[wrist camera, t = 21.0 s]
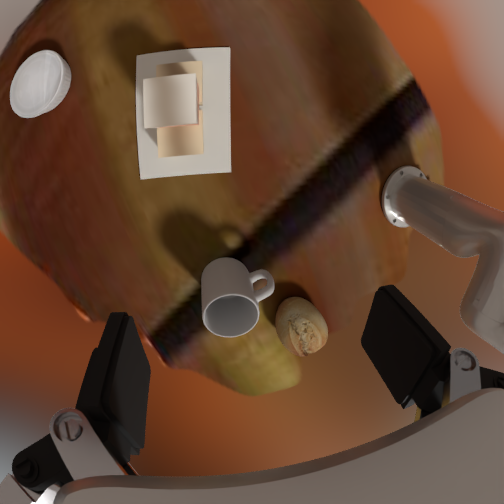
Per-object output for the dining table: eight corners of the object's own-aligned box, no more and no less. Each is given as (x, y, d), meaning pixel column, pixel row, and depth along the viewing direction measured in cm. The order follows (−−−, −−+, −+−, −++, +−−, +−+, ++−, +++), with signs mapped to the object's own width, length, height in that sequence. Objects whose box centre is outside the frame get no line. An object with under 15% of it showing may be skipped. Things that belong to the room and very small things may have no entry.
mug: (214, 304, 51) (218, 345, 41) (192, 269, 47) (190, 307, 37) (273, 278, 50) (289, 315, 40) (255, 240, 46) (270, 273, 36)
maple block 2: (202, 112, 35) (202, 109, 31) (203, 150, 38) (203, 154, 33) (162, 115, 34) (156, 113, 30) (164, 154, 37) (158, 157, 33)
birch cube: (197, 81, 25) (195, 73, 21) (197, 123, 27) (196, 122, 23) (152, 86, 24) (143, 79, 20) (154, 128, 26) (144, 128, 22)
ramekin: (88, 83, 30) (74, 78, 25) (42, 130, 31) (25, 133, 26) (61, 43, 24) (46, 36, 20) (18, 89, 26) (1, 89, 21)
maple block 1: (202, 68, 32) (202, 60, 28) (202, 105, 35) (202, 102, 30) (162, 72, 31) (156, 64, 27) (162, 109, 34) (156, 106, 30)
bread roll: (292, 347, 60) (302, 373, 53) (260, 309, 53) (269, 336, 46) (328, 326, 59) (342, 350, 52) (302, 283, 52) (316, 308, 45)
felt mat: (229, 47, 31) (230, 47, 31) (230, 171, 40) (231, 172, 40) (137, 56, 29) (136, 55, 29) (141, 179, 38) (140, 179, 38)
